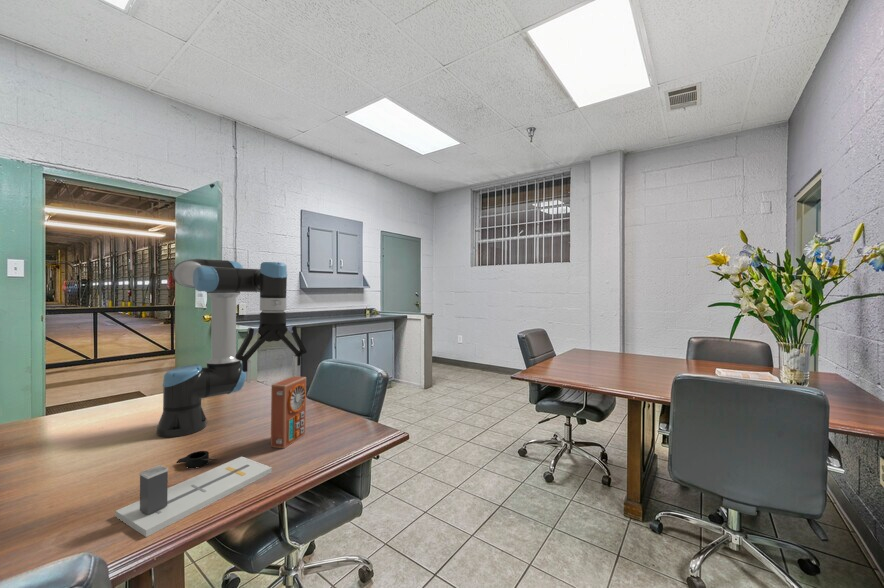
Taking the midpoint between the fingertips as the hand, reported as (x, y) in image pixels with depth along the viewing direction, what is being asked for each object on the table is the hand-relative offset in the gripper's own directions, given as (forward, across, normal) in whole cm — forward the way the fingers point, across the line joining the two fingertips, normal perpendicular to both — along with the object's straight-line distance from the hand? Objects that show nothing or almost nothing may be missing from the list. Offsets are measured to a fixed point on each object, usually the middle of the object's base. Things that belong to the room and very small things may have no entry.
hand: (272, 379), depth 112 cm
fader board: (+26, -19, -8) cm, 33 cm away
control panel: (+26, +8, +12) cm, 30 cm away
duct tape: (+26, -18, +11) cm, 34 cm away
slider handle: (+24, -29, -13) cm, 39 cm away
